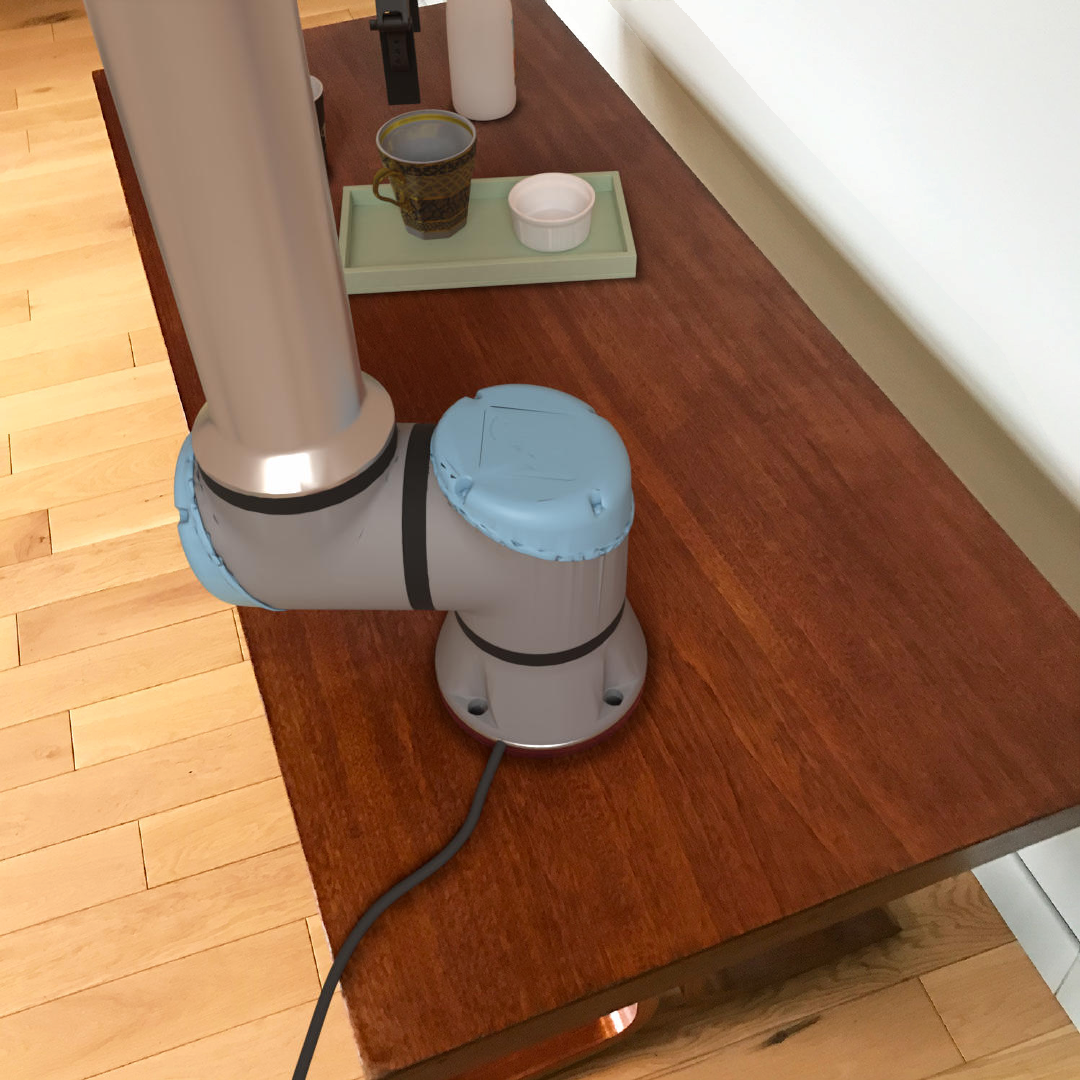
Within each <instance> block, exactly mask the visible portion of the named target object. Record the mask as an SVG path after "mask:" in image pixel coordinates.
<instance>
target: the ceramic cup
mask: <svg viewBox="0 0 1080 1080" xmlns="http://www.w3.org/2000/svg"><path fill="white" fill-rule="evenodd" d="M477 139H478V132H477V128H476V127H475V124H473V122H472V121H471V120H470V119H468V118H465V117H463V116H461V115H460V114H458V113H457V112H453V111H449V110H444V109H419V110H418V109H417V110H412V111H408V112H405V113H402V114H398V115H396V116H395V117H392V118H391V119H389V120H387V121H386V122H385V123H384V124H382V126H381V127H380V128H379V129H378V131H377V133H376V137H375V145H376V148H377V151H378V155H379V158H380V161H381V163H382V166H383V167H382V168H380V169H379V170H378V171H377V172H376V173H375V175H374V176H373V179H372V185H373V188H372V189H373V193H374V195H375V196H376V197H377V198H378V199H379V200H382V201H386V202H390V203H392V204H394V205H395V206H398V207H399V209H400V212H401V216H402V219H403V222H404V226H405V229H406V231H407V232H408V233H410V234H412V235H414V236H416V237H418V238H420V239H423V240H432V239H443V238H450V237H451V236H453V235H454V234H455V233H457V232H458V231H459V230H461V229H462V228H463V227H465V225H466V223H467V216H468V205H469V197H470V187H471V179H473V173H474V170H475V169H474V168H475V161H476V153H477ZM386 178H387V180H388V182H389V184H391V186H392V189H393V192H394V195H395V198H396V201H395V200H394V199H391V198H388V197H383V196H380V195H379V192H378V188H379V185H380V184H382V183H381V182H382V181H383V180H384V179H386Z"/></svg>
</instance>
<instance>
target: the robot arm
mask: <svg viewBox="0 0 1080 1080" xmlns="http://www.w3.org/2000/svg"><path fill="white" fill-rule="evenodd" d="M374 3H375V14H376V15H375V16H376V19H368V26H369V31H371V32H372V31H377V32H378V33H379V41H380V42H379V43H380V49H381V50H380V51H381V57H382V65H383V73H384V80H385V81H384V82H385V88H386V89H385V90H386V97H387V98H386V99H387V105H388V106H402V105H403V106H404V105H406V106H407V105H420V104H421V101H422V99H421V90H420V80H419V79H420V78H419V72H418V71H419V70H418V60H417V51H416V41H415V33H421V32H422V30H421V19H420V8H419V0H374ZM82 4H83V7H84V10H85V13H86V16H87V18H88V23H89V25H90V29H91V32H92V36H93V38H94V43H95V45H96V49H97V51H98V55H99V58H100V61H101V64H102V65H101V66H102V68H103V71H104V75H105V77H106V80H107V84H108V87H109V90H110V93H111V96H112V101H113V103H114V106H115V111H116V113H117V116H118V119H119V123H120V126H121V129H122V132H123V135H124V138H125V142H126V145H127V148H128V152H129V155H130V158H131V161H132V165H133V168H134V171H135V174H136V177H137V180H138V185H139V187H140V190H141V193H142V197H143V200H144V204H145V206H146V207H145V208H146V210H147V213H148V216H149V220H150V222H151V226H152V229H153V232H154V236H155V239H156V242H157V246H158V248H159V252H160V254H161V259H162V262H163V264H164V268H165V272H166V274H167V278H168V281H169V284H170V286H171V291H172V294H173V297H174V300H175V303H176V307H177V309H178V313H179V316H180V319H181V322H182V326H183V329H184V332H185V335H186V339H187V342H188V345H189V348H190V352H191V354H192V358H193V362H194V364H195V367H196V371H197V373H198V374H197V375H198V377H199V381H200V384H201V387H202V391H203V393H204V397H205V403H204V404H203V405H202V407H201V408H200V409H199V412H198V413H197V415H196V417H195V419H194V421H193V425H192V428H191V431H190V432H189V433H188V435H187V436H185V439H184V440H183V443H182V445H181V447H180V450H179V452H178V455H177V460H176V464H175V469H174V478H173V502H174V504H173V505H174V507H175V508H176V509H177V511H178V512H179V521H178V523H177V525H176V526H177V533H178V537H179V541H180V544H181V547H182V550H183V553H184V556H185V558H186V561H187V564H188V565H189V567H190V569H191V571H192V573H193V575H194V576H195V577H196V579H197V580H198V582H199V583H200V584H201V585H202V587H203V588H204V589H205V590H206V591H207V592H208V593H209V594H210V595H212V596H213V597H214V598H216V599H217V600H219V601H220V602H221V601H222V602H224V603H226V604H229V605H233V606H238V607H239V606H240V607H252V608H262V609H265V610H269V611H272V612H286V611H290V610H306V611H309V610H313V611H314V610H316V611H317V610H321V611H322V610H323V611H324V610H325V611H327V610H328V611H334V610H335V611H337V610H338V611H447V614H446V616H445V619H444V621H443V623H442V626H441V628H440V631H439V634H438V638H437V642H436V646H435V651H434V652H435V653H434V669H435V676H436V682H437V685H438V686H437V687H438V691H439V695H440V698H441V700H442V703H443V705H444V707H445V708H446V710H447V712H448V714H449V715H450V716H451V718H452V720H453V721H454V722H455V723H456V724H457V725H458V726H459V728H461V730H462V731H464V732H465V733H466V734H467V735H469V737H471V738H472V739H474V740H475V741H477V742H479V743H480V744H482V745H484V746H486V747H487V748H489V749H492V751H491V753H490V756H489V758H488V759H487V763H486V766H485V768H484V771H483V773H482V775H481V777H480V780H479V782H478V785H477V788H476V790H475V793H474V796H473V799H472V803H471V807H470V808H469V811H468V814H467V817H466V818H465V821H464V823H463V824H462V826H461V827H460V829H459V830H458V832H457V833H456V834H455V836H454V837H453V838H452V839H451V841H450V842H449V843H448V844H447V845H446V846H445V847H443V849H442V850H440V852H438V853H437V854H436V855H435V856H434V857H433V858H431V859H430V860H429V861H428V862H426V863H425V864H423V865H422V866H421V867H420V868H418V869H417V870H415V871H413V872H412V873H411V874H409V875H408V876H407V877H405V878H403V879H402V880H401V881H399V882H398V883H397V884H395V885H394V886H392V887H391V888H390V889H389V890H388V891H386V892H385V893H383V895H382V896H381V897H379V898H378V899H377V901H375V902H374V903H373V904H372V905H371V906H370V907H369V908H368V910H366V911H365V912H364V913H363V915H362V917H361V918H360V919H359V920H358V922H357V923H356V925H355V926H354V927H353V928H352V930H351V932H350V933H349V935H348V936H347V938H346V939H345V940H344V942H343V944H342V946H341V948H340V950H339V951H338V953H337V954H336V957H335V959H334V960H333V963H332V964H331V967H330V969H329V971H328V973H327V975H326V978H325V981H324V983H323V986H322V988H321V991H320V993H319V996H318V999H317V1001H316V1005H315V1007H314V1011H313V1014H312V1017H311V1020H310V1023H309V1025H308V1029H307V1032H306V1035H305V1038H304V1041H303V1043H302V1044H303V1045H302V1047H301V1050H300V1053H299V1055H298V1058H297V1062H296V1064H295V1068H294V1071H293V1074H292V1077H291V1080H306V1079H307V1076H308V1072H309V1070H310V1066H311V1063H312V1060H313V1057H314V1054H315V1052H316V1048H317V1045H318V1042H319V1039H320V1036H321V1033H322V1029H323V1027H324V1023H325V1020H326V1018H327V1015H328V1011H329V1008H330V1005H331V1003H332V1002H331V1001H332V1000H333V998H334V995H335V991H336V988H337V987H338V984H339V981H340V979H341V977H342V975H343V972H344V970H345V969H346V967H347V964H348V962H349V960H350V959H351V957H352V955H353V953H354V952H355V949H356V948H357V947H358V945H359V943H360V941H361V940H362V939H363V937H364V936H365V934H366V933H367V931H368V930H369V929H370V928H371V926H372V925H373V923H374V922H375V921H376V920H377V919H378V918H379V917H380V916H381V915H382V914H383V912H385V911H386V910H387V909H388V908H389V907H390V906H391V905H392V904H393V903H395V902H396V901H397V900H399V898H401V897H402V896H403V895H405V894H406V893H407V892H409V891H410V890H412V889H413V888H414V887H416V886H417V885H419V884H420V883H422V882H423V881H424V880H426V879H428V878H429V877H430V876H431V875H433V874H434V873H435V872H436V871H438V870H439V869H441V868H442V867H443V866H444V865H445V864H446V863H448V862H449V861H450V860H451V859H452V858H453V857H454V856H455V855H456V853H458V851H459V850H460V849H461V848H462V847H463V845H464V844H465V843H466V842H467V840H469V837H470V836H471V835H472V833H473V832H474V831H475V828H476V826H477V824H478V822H479V819H480V817H481V815H482V811H483V808H484V805H485V802H486V799H487V795H488V793H489V789H490V787H491V784H492V782H493V779H494V777H495V775H496V772H497V770H498V767H499V765H500V763H501V760H502V758H503V755H504V754H506V755H510V756H514V757H518V758H524V759H525V758H526V759H536V760H537V759H538V760H539V759H540V760H541V759H542V760H543V759H555V758H562V757H567V756H571V755H574V754H575V755H576V754H578V753H581V752H584V751H586V750H589V749H592V748H593V747H596V746H597V745H599V744H601V743H603V742H604V741H606V740H608V739H609V738H610V737H612V736H613V735H614V734H616V732H618V731H619V730H620V729H621V728H622V727H623V726H624V725H625V724H626V723H627V722H628V720H629V719H630V718H631V716H632V715H633V713H634V712H635V711H636V709H637V707H638V705H639V703H640V701H641V699H642V696H643V692H644V689H645V686H646V679H647V672H648V671H647V670H648V647H647V642H646V637H645V634H644V632H643V629H642V625H641V624H640V622H639V620H638V617H637V615H636V613H635V611H634V609H633V607H632V605H631V603H630V601H629V599H628V597H627V593H626V592H627V581H628V580H627V579H628V576H627V575H628V553H629V535H630V534H629V533H630V530H631V528H632V526H633V523H634V518H635V510H636V509H635V508H636V507H635V495H634V492H633V489H632V466H631V461H630V456H629V453H628V449H627V447H626V445H625V442H624V441H623V439H622V437H621V435H620V434H619V432H618V431H617V429H616V428H615V427H614V426H613V424H612V423H611V422H610V421H609V420H608V419H606V418H605V417H604V416H601V415H599V414H597V413H596V411H595V409H594V407H592V406H591V405H590V404H588V403H587V402H585V401H583V400H581V399H580V398H578V397H577V396H574V395H571V394H570V393H567V392H564V391H562V390H560V389H559V390H558V389H555V388H551V387H548V386H544V385H543V386H542V385H535V384H529V383H505V384H499V385H498V384H497V385H492V386H488V387H484V388H483V387H482V388H480V389H479V390H477V391H476V394H475V397H473V398H471V397H469V396H464V397H462V398H460V399H458V400H456V401H455V402H454V403H453V404H452V405H451V406H449V408H448V409H446V411H444V413H443V414H442V416H441V418H440V419H439V420H438V422H437V423H436V422H435V423H431V422H430V423H429V422H428V423H423V422H422V423H421V422H397V417H396V413H395V412H396V411H395V407H394V404H393V401H392V398H391V396H390V394H389V393H388V391H387V390H386V388H385V387H384V385H382V384H381V382H380V381H378V380H377V378H375V377H374V376H372V375H370V374H369V373H368V372H365V371H364V370H362V369H361V368H362V367H361V362H360V357H359V351H358V345H357V340H356V333H355V328H354V323H353V318H352V317H353V316H352V311H351V305H350V299H349V294H348V293H347V287H346V281H345V276H344V270H343V264H342V258H341V252H340V247H339V236H338V231H337V225H336V219H335V212H334V207H333V200H332V194H331V190H330V184H329V178H328V177H327V171H326V166H325V160H324V154H323V148H322V142H321V137H320V131H319V125H318V119H317V113H316V108H315V102H314V96H313V90H312V85H311V79H310V75H311V74H310V67H309V61H308V56H307V51H306V43H305V39H304V31H303V28H302V27H303V26H302V22H301V16H300V11H299V4H298V0H82Z"/></svg>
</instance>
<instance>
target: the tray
mask: <svg viewBox="0 0 1080 1080" xmlns="http://www.w3.org/2000/svg"><path fill="white" fill-rule="evenodd" d="M569 174H570V175H574V176H577V177H579V178H581V179H583V180H585V181H586V182H588V183H589V184H590V185H591V186H592V188H593V189H594V192H595V203H594V206H593V210H592V220H591V229H590V233H589V235H588V237H587V239H586V240H585V241H584V242H583V243H582V244H580V245H579V246H577V247H575V248H573V249H570V250H567V251H562V252H555V253H549V252H540V251H536V250H533V249H530V248H528V247H526V246H525V245H523V244H522V243H521V242H520V241H519V240H518V238H517V237H516V235H515V231H514V226H513V219H512V213H511V209H510V206H509V203H508V195H509V193H510V191H511V189H512V188H513V187H514V186H515V185H516V184H517V183H518V182H520V181H521V180H523V179H525V178H528V177H530V176H531V175H521V176H520V175H519V176H503V177H501V176H500V177H484V178H483V177H482V178H472V179H471V187H470V197H469V205H468V216H467V223H466V225H465V227H463V228H462V229H461V230H459V231H458V232H457V233H455V234H454V235H453V236H451V237H450V238H443V239H432V240H423V239H420V238H418V237H416V236H414V235H412V234H410V233H408V232H407V231H406V229H405V226H404V222H403V219H402V216H401V212H400V209H399V207H398V206H395V205H394V204H392V203H390V202H386V201H382V200H379V199H378V198H377V197H376V196H375V195H374V193H373V189H372V188H373V184H359V185H343V186H342V198H341V210H340V225H339V236H338V241H339V247H340V252H341V258H342V264H343V270H344V276H345V281H346V287H347V293H348V295H361V294H377V293H392V292H393V293H395V292H409V291H410V292H411V291H427V290H446V289H461V288H463V289H464V288H476V287H477V288H478V287H495V286H496V287H497V286H510V285H511V286H512V285H529V284H545V283H546V284H547V283H548V284H549V283H563V282H577V281H578V282H580V281H595V280H610V279H611V280H612V279H613V280H614V279H631V278H636V275H637V258H638V257H637V256H638V255H637V250H636V247H635V241H634V237H633V232H632V228H631V222H630V218H629V214H628V209H627V204H626V200H625V195H624V190H623V187H622V186H623V185H622V181H621V177H620V171H619V170H608V171H606V170H605V171H590V172H574V173H573V172H571V173H569ZM378 192H379V195H380V196H383V197H388V198H391V199H394V200H395V201H396V198H395V195H394V192H393V189H392V186H391V184H390V183H380V185H379V188H378Z"/></svg>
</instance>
